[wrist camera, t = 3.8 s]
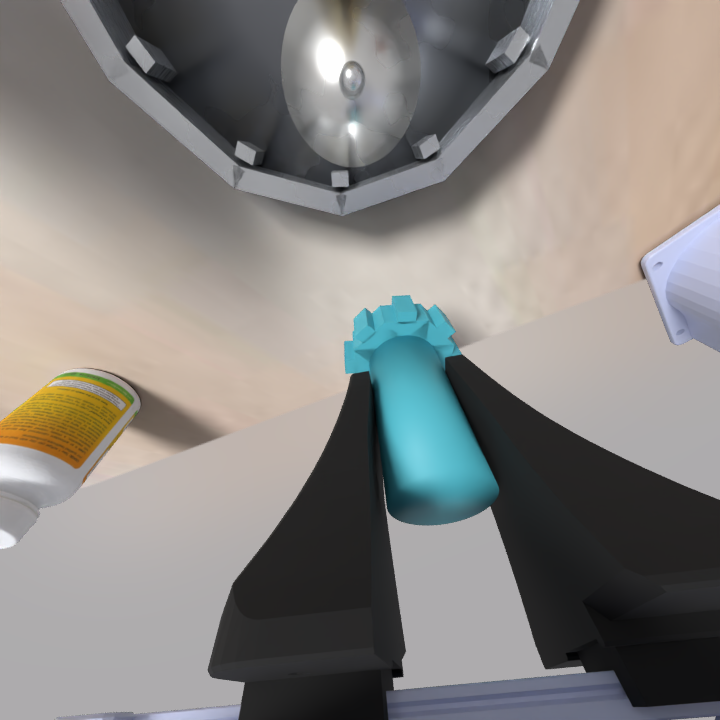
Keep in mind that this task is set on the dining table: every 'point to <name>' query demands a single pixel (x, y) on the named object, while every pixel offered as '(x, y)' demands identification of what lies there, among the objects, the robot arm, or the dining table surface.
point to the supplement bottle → (58, 443)
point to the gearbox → (325, 84)
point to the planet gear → (419, 415)
